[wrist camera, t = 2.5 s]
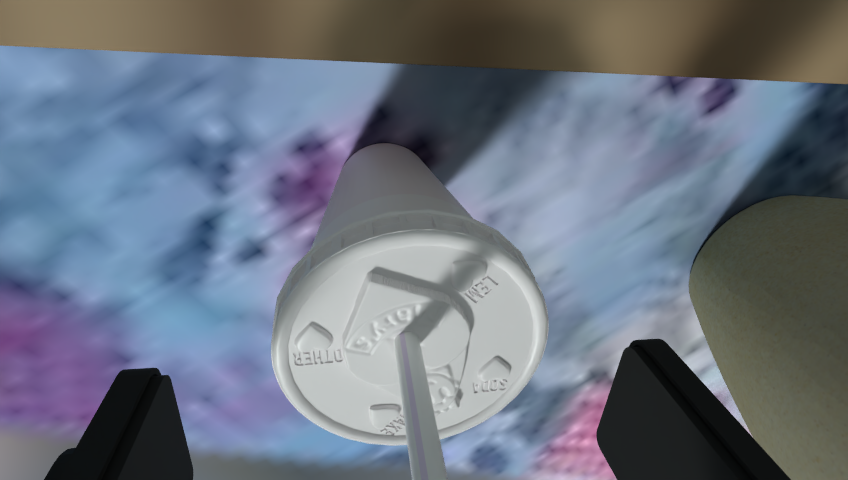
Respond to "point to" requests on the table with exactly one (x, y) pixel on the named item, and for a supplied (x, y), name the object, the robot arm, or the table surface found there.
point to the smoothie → (405, 313)
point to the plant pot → (783, 327)
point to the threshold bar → (466, 33)
